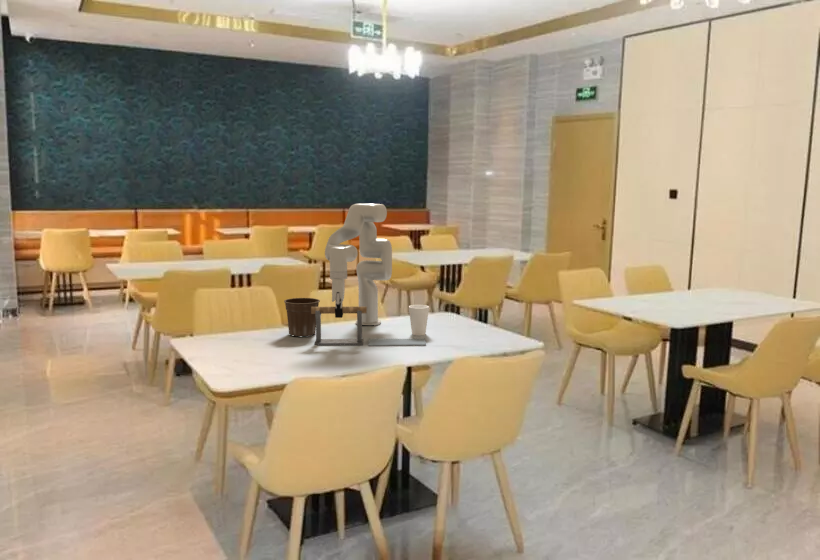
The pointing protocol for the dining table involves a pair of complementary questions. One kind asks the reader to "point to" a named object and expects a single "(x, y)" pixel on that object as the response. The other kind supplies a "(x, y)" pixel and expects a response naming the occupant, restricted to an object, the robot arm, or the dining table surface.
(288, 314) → the plant pot
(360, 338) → the cradle stands
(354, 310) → the oak dowel
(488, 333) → the dining table surface
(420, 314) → the foam cup
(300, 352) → the dining table surface
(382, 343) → the slate mat
